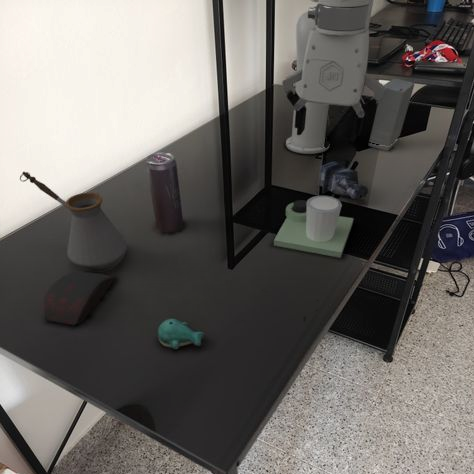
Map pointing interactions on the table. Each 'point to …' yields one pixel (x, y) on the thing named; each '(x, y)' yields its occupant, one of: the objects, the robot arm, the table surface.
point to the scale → (297, 239)
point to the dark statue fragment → (341, 181)
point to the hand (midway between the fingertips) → (326, 135)
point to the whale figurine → (178, 334)
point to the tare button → (300, 206)
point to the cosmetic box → (391, 113)
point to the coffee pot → (89, 231)
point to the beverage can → (165, 191)
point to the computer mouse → (75, 296)
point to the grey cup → (322, 217)
